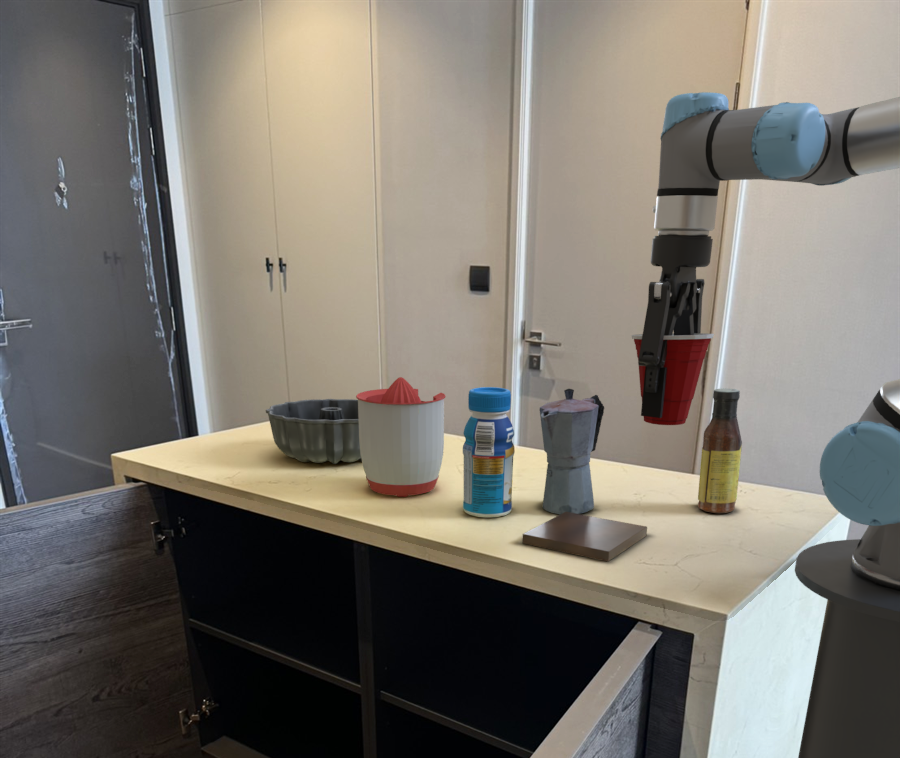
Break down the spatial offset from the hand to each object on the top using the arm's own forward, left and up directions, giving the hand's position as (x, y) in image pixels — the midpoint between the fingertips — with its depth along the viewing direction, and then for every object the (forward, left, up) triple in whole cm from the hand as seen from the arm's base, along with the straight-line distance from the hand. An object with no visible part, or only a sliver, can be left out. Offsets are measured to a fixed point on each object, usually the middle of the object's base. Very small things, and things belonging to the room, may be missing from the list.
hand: (664, 411), depth 119 cm
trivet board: (+10, +2, -20) cm, 22 cm away
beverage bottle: (+30, -2, -20) cm, 36 cm away
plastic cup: (0, 0, -2) cm, 2 cm away
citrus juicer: (+50, -6, -20) cm, 54 cm away
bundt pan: (+78, -18, -20) cm, 83 cm away
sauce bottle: (-1, -25, -20) cm, 33 cm away
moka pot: (+20, -12, -20) cm, 31 cm away
